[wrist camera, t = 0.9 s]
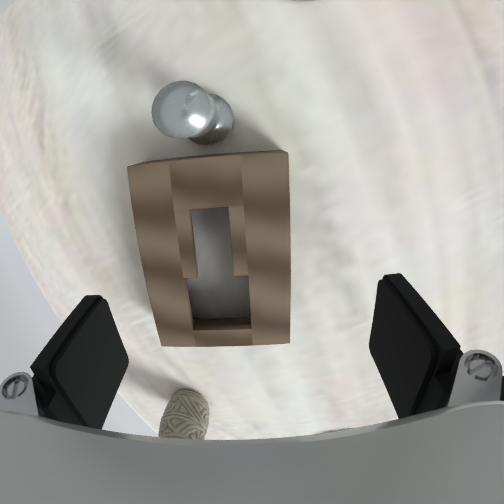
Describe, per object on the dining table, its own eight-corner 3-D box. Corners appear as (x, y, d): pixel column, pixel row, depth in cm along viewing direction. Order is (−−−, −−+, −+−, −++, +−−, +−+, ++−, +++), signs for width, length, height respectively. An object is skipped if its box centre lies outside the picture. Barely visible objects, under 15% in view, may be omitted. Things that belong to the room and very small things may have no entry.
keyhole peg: (182, 98, 30) (138, 77, 17) (232, 93, 30) (219, 65, 17) (185, 146, 32) (143, 154, 19) (235, 142, 32) (224, 145, 19)
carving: (173, 380, 45) (158, 439, 34) (216, 395, 46) (210, 454, 35) (164, 401, 47) (149, 456, 36) (204, 415, 48) (197, 470, 37)
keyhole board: (143, 162, 33) (127, 166, 28) (282, 150, 32) (288, 152, 28) (169, 324, 41) (161, 346, 36) (285, 320, 41) (289, 343, 36)
